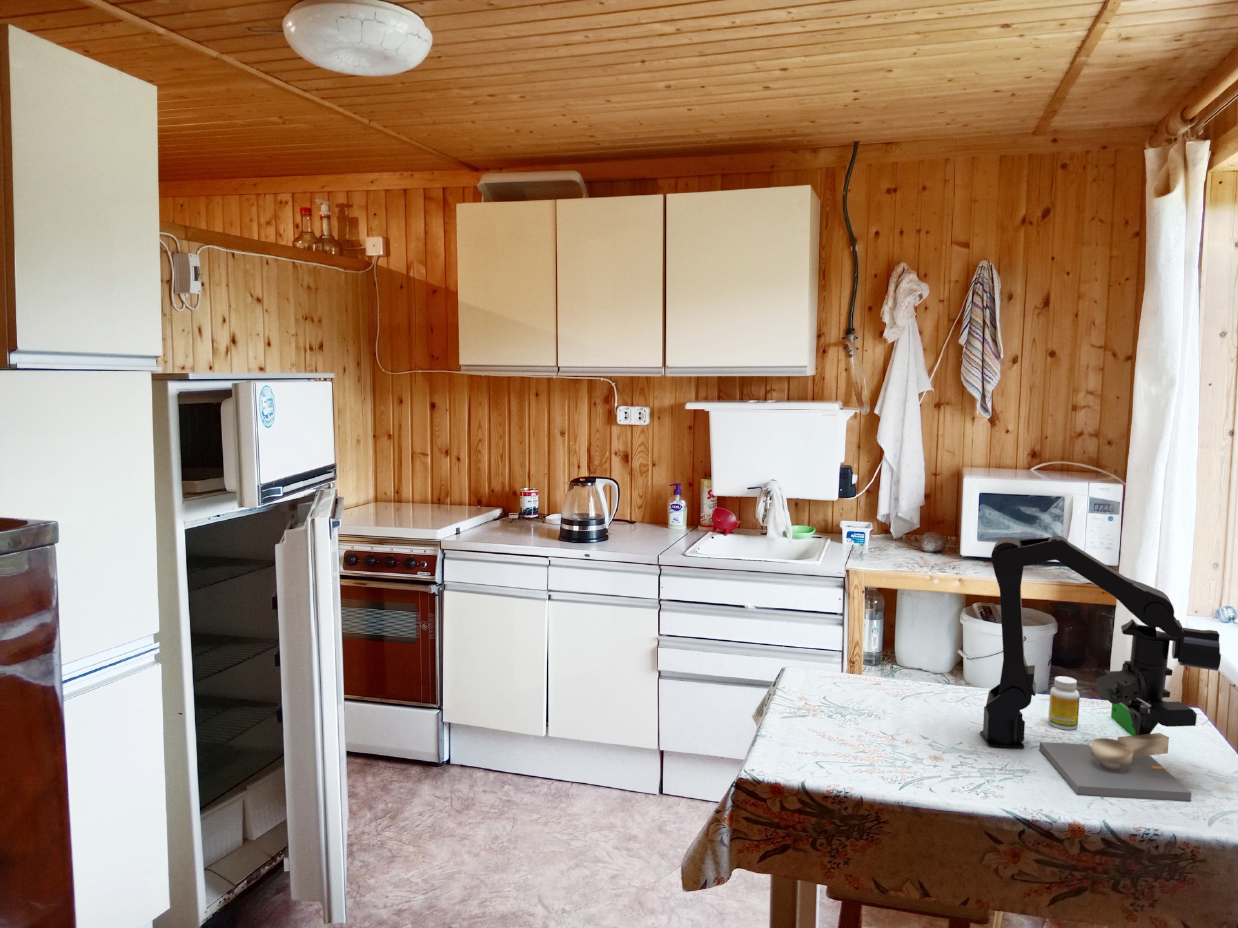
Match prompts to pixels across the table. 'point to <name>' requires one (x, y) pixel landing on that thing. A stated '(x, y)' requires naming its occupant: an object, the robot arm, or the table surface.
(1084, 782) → the thin gray panel
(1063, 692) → the supplement bottle
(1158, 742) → the beige long-handled part
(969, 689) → the table surface
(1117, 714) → the pipe clamp
